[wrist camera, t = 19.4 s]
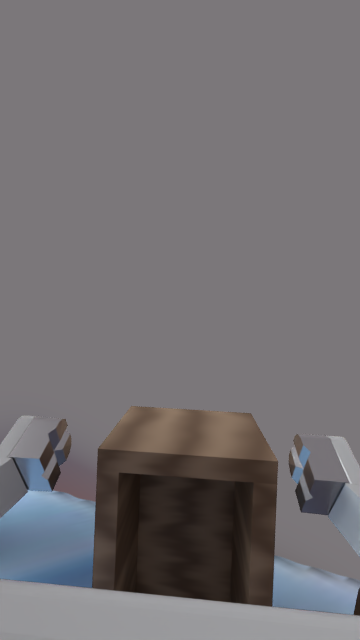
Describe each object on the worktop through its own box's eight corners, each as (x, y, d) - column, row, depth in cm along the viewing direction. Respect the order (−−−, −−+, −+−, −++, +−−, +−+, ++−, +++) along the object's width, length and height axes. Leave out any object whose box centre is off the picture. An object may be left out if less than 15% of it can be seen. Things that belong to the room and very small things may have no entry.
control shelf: (86, 735, 26) (98, 448, 26) (123, 597, 39) (131, 406, 39) (265, 760, 25) (278, 461, 25) (242, 610, 38) (250, 413, 38)
